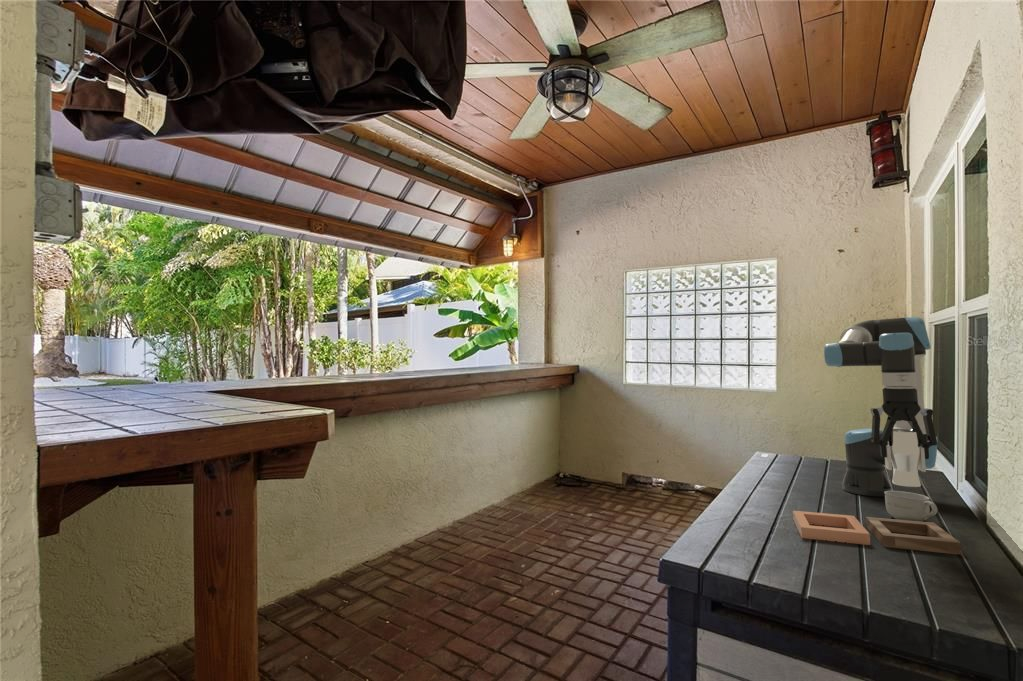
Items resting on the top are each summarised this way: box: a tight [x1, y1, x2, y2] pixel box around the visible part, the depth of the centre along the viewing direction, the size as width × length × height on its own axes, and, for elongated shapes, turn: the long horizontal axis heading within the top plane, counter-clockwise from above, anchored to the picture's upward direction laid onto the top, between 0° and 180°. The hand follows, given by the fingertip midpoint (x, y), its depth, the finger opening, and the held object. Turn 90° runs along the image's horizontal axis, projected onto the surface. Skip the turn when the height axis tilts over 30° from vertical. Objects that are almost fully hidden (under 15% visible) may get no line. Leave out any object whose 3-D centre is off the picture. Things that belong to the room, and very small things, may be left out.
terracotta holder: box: [792, 510, 871, 546], centre depth 137 cm, size 16×16×3 cm
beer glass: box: [888, 429, 921, 488], centre depth 130 cm, size 7×7×15 cm
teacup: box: [884, 490, 938, 522], centre depth 143 cm, size 14×11×8 cm
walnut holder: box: [865, 516, 963, 556], centre depth 129 cm, size 16×16×3 cm
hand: (905, 469), depth 130 cm, fingers closed on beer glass, 7 cm apart
